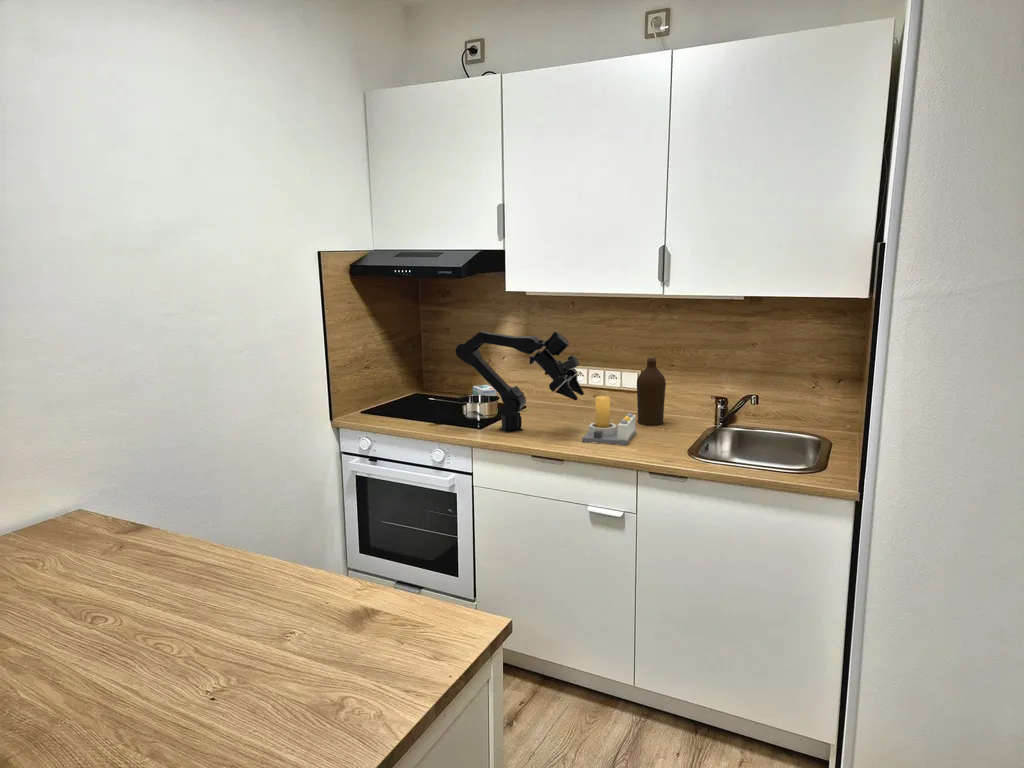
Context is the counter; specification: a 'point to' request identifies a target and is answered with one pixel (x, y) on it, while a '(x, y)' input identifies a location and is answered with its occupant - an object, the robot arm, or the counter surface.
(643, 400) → the olive oil
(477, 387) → the light bulb box
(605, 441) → the ball rail dock
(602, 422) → the cap
